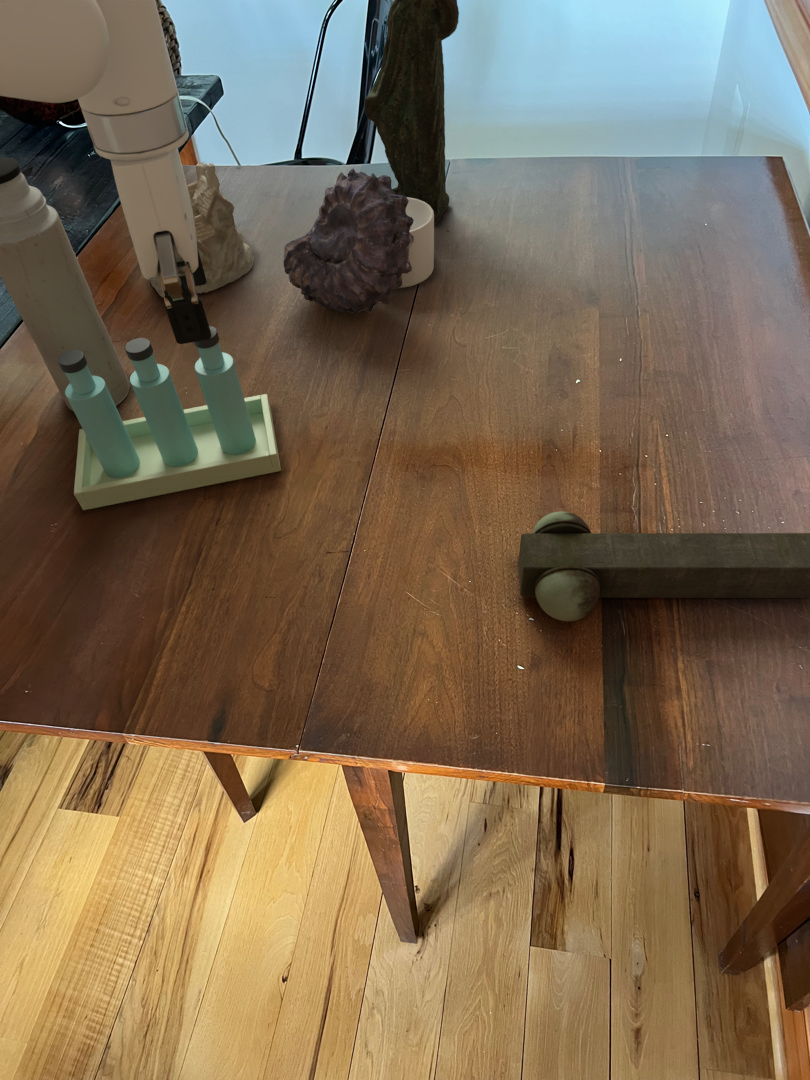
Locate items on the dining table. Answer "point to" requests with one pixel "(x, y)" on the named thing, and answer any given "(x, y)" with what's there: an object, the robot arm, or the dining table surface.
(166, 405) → the tray bottle
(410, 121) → the statue
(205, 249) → the ceramic cottage
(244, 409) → the bottle
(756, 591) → the post
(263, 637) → the dining table surface
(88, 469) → the tray
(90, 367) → the thermos bottle
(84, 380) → the tray bottle
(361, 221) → the seashell
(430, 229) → the mug
